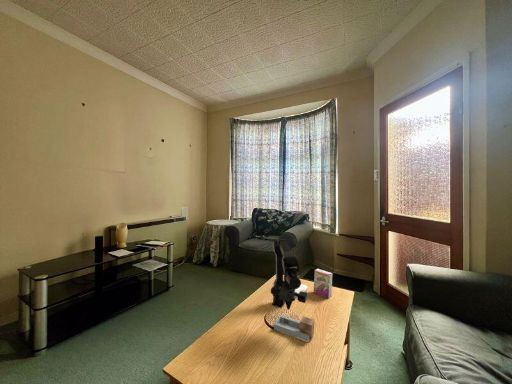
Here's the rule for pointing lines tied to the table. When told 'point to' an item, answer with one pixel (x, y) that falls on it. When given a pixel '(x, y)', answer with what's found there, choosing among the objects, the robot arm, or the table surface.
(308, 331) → the walnut block
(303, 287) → the figurine
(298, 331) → the chute
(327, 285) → the candy bar box
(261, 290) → the table surface
